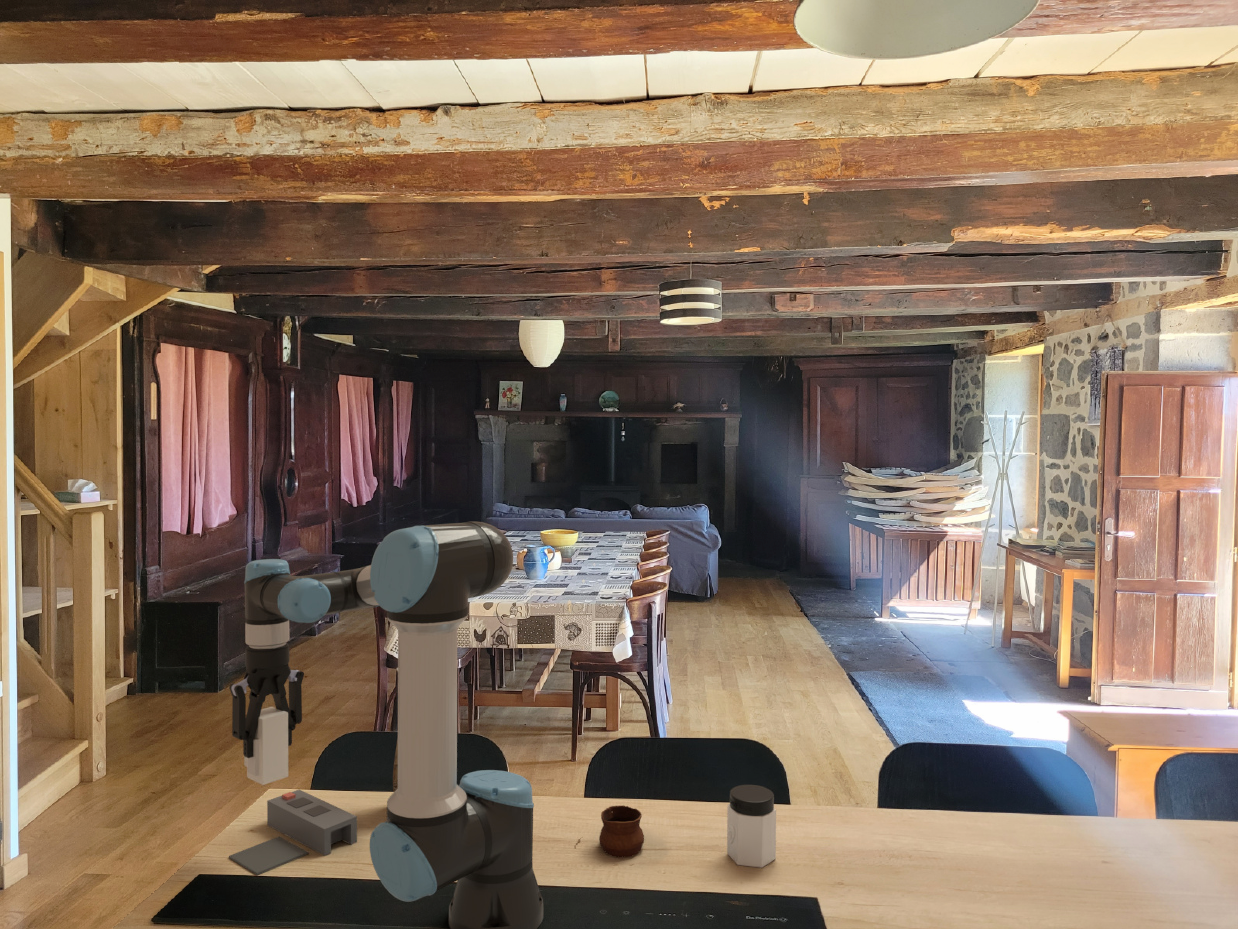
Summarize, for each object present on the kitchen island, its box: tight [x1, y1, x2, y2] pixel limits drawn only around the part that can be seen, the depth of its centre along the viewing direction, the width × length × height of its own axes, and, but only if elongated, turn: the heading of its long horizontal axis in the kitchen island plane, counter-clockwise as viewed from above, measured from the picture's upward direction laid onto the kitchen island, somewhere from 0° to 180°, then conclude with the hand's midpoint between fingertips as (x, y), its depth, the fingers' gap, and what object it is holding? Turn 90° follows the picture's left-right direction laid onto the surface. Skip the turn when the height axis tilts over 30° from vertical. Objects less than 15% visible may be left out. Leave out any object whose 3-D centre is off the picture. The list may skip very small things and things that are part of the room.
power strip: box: [266, 789, 358, 857], centre depth 167 cm, size 20×7×6 cm, turn 52°
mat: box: [228, 835, 309, 876], centre depth 158 cm, size 10×10×1 cm
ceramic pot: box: [574, 805, 645, 858], centre depth 162 cm, size 18×18×7 cm
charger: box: [243, 706, 289, 786], centre depth 159 cm, size 8×5×12 cm, turn 52°
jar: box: [726, 784, 777, 869], centre depth 159 cm, size 9×8×12 cm
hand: (268, 768), depth 158 cm, fingers closed on charger, 5 cm apart
